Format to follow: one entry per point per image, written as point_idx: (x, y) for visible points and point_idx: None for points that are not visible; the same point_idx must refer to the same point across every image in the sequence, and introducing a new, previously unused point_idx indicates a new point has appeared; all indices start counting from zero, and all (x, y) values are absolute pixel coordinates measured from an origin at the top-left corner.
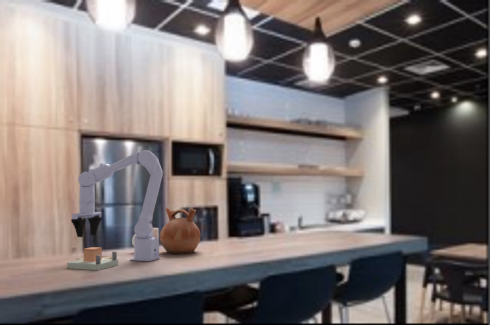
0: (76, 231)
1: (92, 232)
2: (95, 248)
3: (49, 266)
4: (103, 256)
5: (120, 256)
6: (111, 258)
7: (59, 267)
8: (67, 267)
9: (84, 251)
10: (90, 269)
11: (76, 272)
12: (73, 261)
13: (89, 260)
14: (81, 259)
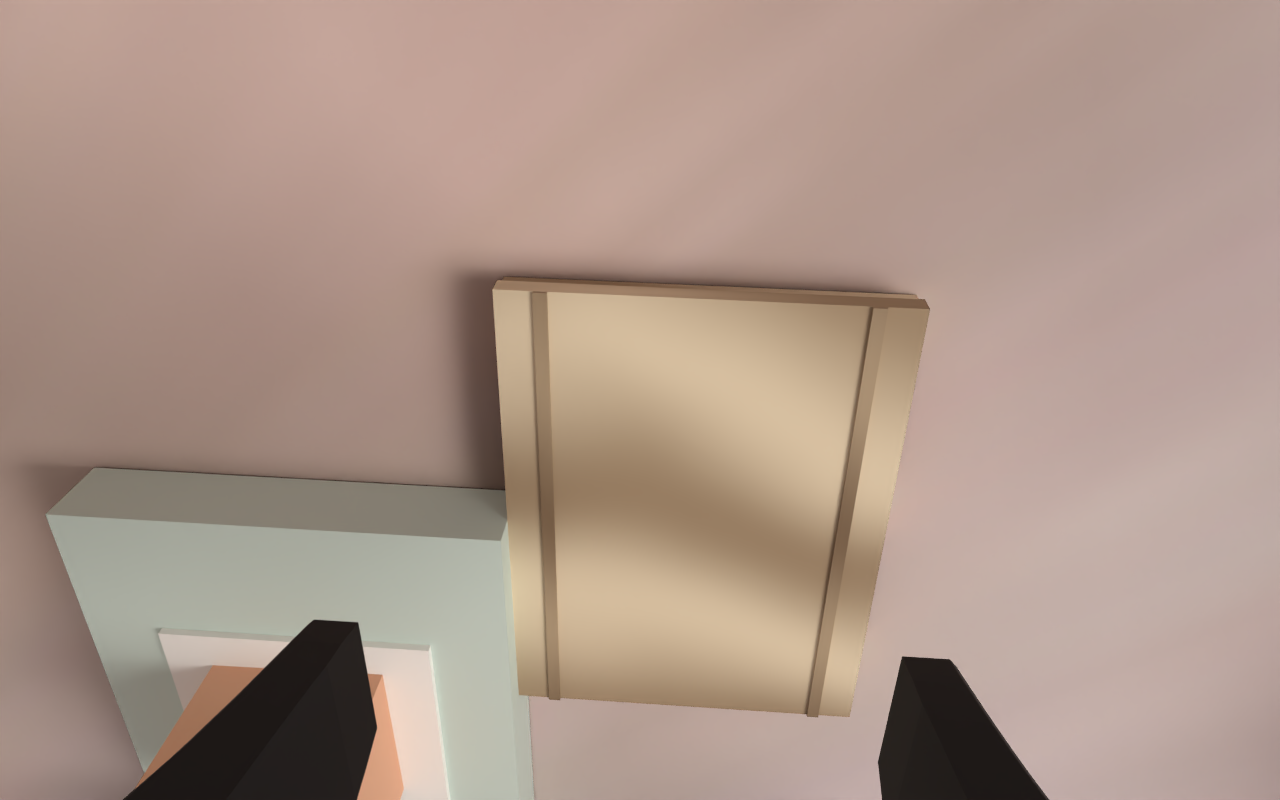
0: (197, 751)
1: (908, 767)
2: None
3: (9, 101)
4: (845, 558)
5: (1189, 589)
6: (743, 705)
7: (63, 328)
8: (91, 475)
9: None
10: None
11: (13, 698)
12: (152, 537)
13: None
14: (333, 537)
